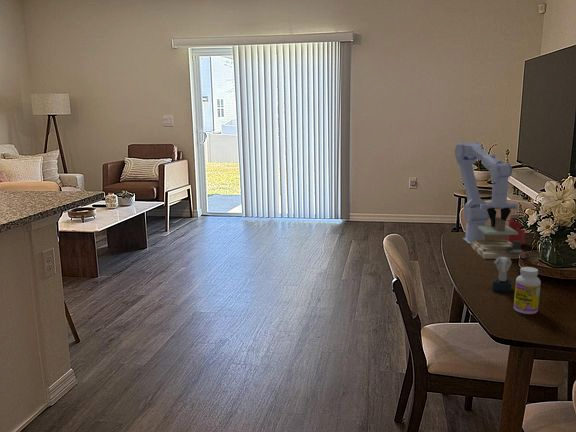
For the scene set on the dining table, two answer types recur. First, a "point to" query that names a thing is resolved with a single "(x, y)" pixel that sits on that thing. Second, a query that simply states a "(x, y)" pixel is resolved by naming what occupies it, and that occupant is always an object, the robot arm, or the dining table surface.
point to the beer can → (516, 226)
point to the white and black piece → (502, 275)
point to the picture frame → (494, 249)
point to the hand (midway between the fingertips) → (497, 226)
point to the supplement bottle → (527, 291)
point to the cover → (498, 228)
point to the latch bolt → (515, 246)
